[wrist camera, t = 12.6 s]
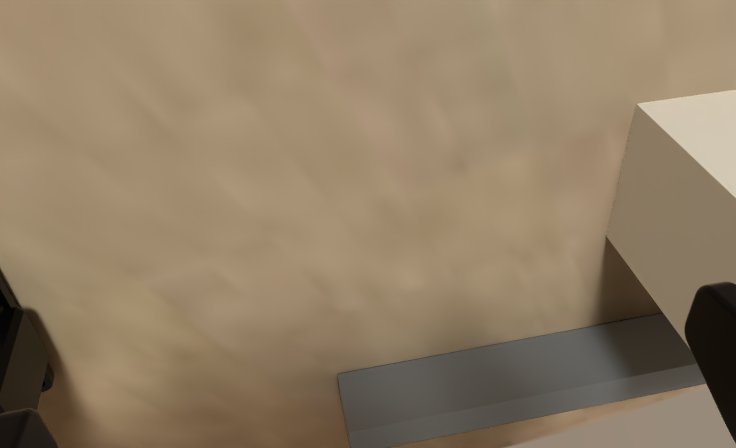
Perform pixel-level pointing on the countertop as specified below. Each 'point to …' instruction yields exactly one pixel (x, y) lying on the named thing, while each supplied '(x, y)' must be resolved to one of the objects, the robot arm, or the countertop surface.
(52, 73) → the countertop surface
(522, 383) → the price rail
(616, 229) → the cream carton
